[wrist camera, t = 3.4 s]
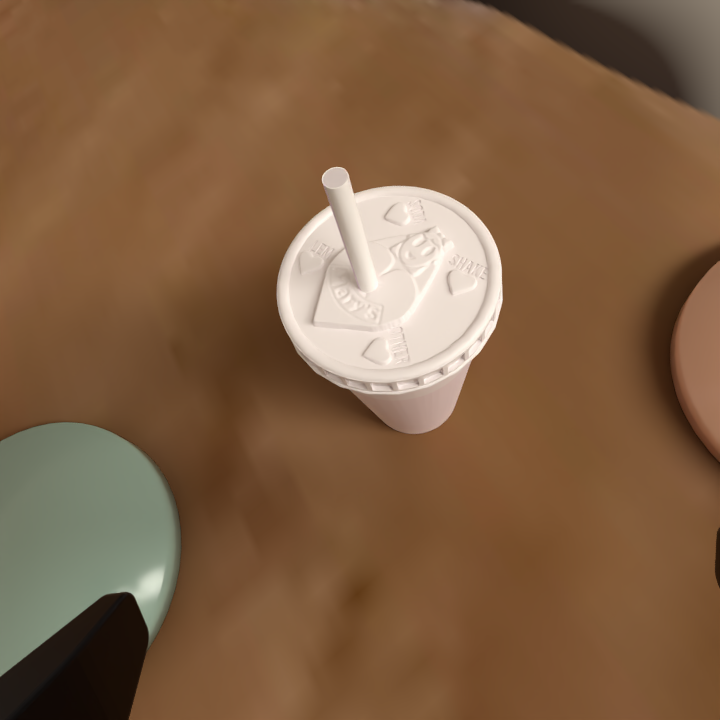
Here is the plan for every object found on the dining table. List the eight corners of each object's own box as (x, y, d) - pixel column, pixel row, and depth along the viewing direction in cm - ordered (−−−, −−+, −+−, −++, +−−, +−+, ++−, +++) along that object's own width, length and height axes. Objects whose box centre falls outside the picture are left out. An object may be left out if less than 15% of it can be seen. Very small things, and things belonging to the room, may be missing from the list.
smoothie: (315, 379, 25) (162, 156, 12) (429, 300, 26) (395, 10, 13) (396, 497, 22) (307, 366, 10) (522, 406, 23) (593, 171, 10)
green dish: (74, 796, 20) (51, 807, 19) (-131, 639, 24) (-160, 641, 23) (231, 489, 24) (220, 484, 23) (31, 394, 27) (13, 385, 26)
